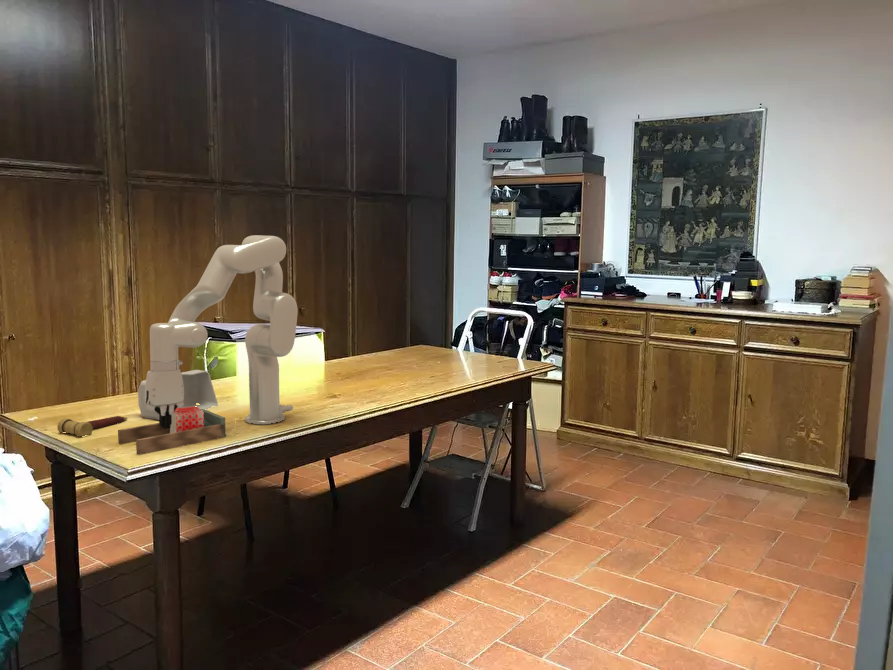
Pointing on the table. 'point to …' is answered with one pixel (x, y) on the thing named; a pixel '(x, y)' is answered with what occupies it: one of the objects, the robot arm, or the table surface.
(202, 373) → the grey open box shell
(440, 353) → the table surface
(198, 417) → the red patterned cube
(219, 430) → the crate bay
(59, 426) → the gavel
